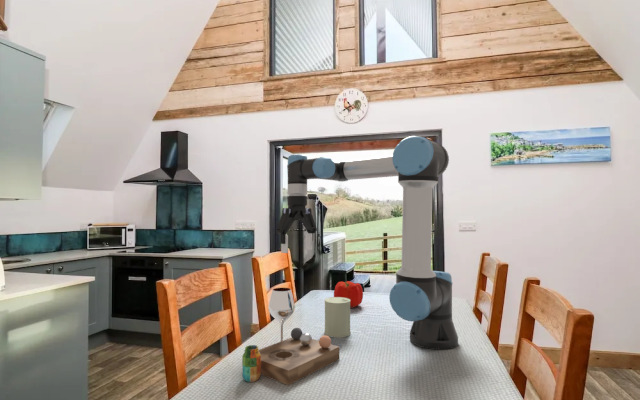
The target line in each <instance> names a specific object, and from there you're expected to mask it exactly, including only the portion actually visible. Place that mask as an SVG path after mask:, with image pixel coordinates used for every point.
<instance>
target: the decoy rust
mask: <svg viewBox="0 0 640 400" xmlns="http://www.w3.org/2000/svg"><path fill="white" fill-rule="evenodd" d="M318 341H319V345H320V346H321V347H322V348H328V347H329V346H330V345H331V344H332V338H330V336H327V335H325V334H324V335H322V336H320V337H319V339H318Z"/></svg>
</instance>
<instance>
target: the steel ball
mask: <svg viewBox="0 0 640 400" xmlns="http://www.w3.org/2000/svg"><path fill="white" fill-rule="evenodd" d="M312 339H313V337H312V335H311V334H310V333H308V332H304V333H302V335H301V337H300V342H301V344H302V345H304V346H308V345H310V344H311V342H312Z"/></svg>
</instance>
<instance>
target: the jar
mask: <svg viewBox="0 0 640 400" xmlns="http://www.w3.org/2000/svg"><path fill="white" fill-rule="evenodd" d="M259 350H260V349H259V346H258V345H253V344H251V345H246V346H245V348H244V353H243V354H242V355H241V356H242V361H241V362H242V366H241V367H242V368H241V369H242V372H241V373H242V378H243V380H244V381H245V382H246V383H247V382H248V383H253V382H257V381H258V380H259V379H260V377H261V374H260V373H261V354H260V352H259Z"/></svg>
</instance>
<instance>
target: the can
mask: <svg viewBox="0 0 640 400" xmlns="http://www.w3.org/2000/svg"><path fill="white" fill-rule="evenodd" d="M350 301H351V300H350V299H348V298H343V297H334V296H331V297H327V298H325V299H324V332H323V333H324V335H326V336H329V337H331V338H338V339H339V338H346V337H349V336H350V335H351V308H350Z"/></svg>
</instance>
